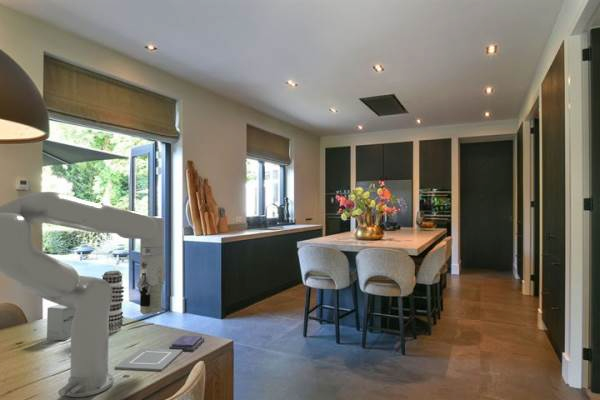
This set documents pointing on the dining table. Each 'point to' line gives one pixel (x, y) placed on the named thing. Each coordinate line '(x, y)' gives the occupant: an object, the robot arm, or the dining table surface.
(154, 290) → the skincare box
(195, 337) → the ink pad
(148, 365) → the card
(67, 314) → the supplement box
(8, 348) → the dining table surface
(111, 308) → the decorative candle
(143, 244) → the robot arm
